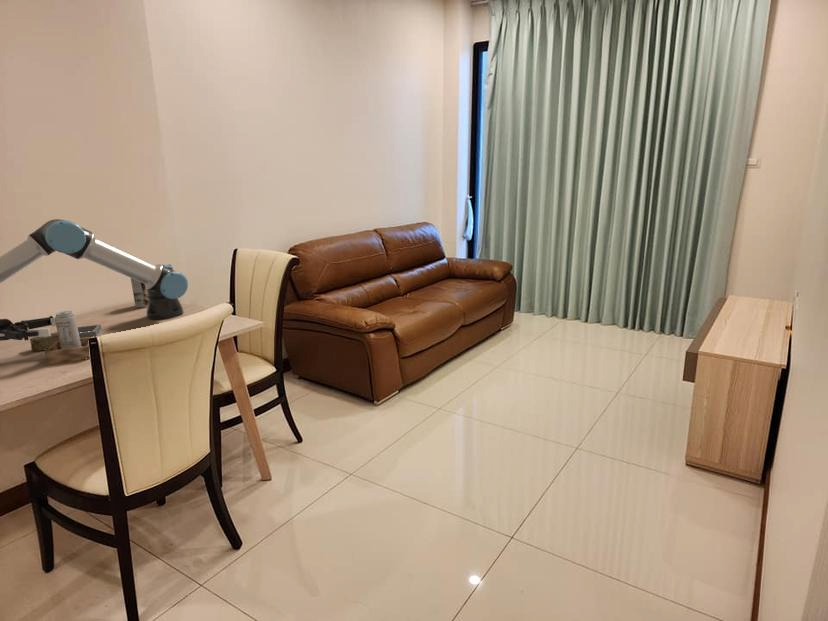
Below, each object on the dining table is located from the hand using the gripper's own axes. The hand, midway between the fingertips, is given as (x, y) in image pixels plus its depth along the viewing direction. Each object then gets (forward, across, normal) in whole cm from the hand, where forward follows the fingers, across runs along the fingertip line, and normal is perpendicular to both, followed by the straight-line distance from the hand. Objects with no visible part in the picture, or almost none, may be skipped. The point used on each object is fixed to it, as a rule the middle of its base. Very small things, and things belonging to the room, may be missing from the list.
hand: (60, 326), depth 184 cm
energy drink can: (+2, 0, -10) cm, 11 cm away
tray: (-7, -26, -11) cm, 29 cm away
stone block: (-13, -13, -12) cm, 22 cm away
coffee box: (0, -74, -12) cm, 74 cm away
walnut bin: (+2, 0, -11) cm, 11 cm away
